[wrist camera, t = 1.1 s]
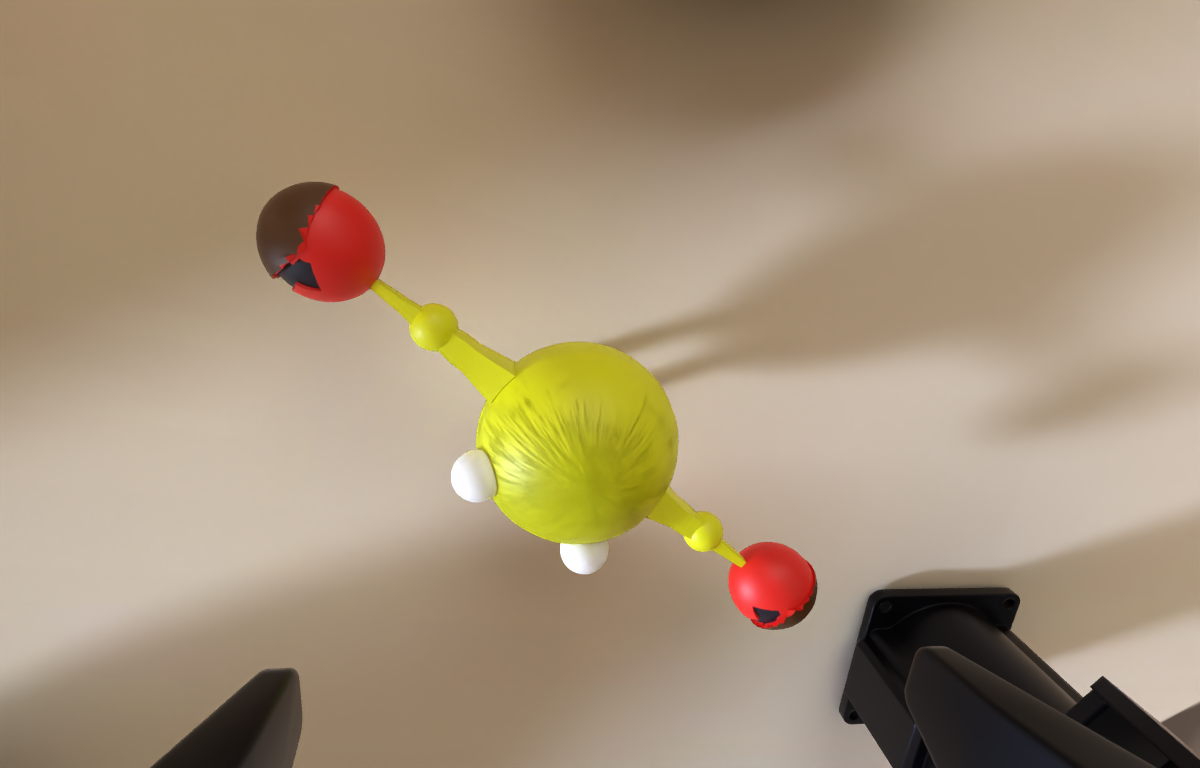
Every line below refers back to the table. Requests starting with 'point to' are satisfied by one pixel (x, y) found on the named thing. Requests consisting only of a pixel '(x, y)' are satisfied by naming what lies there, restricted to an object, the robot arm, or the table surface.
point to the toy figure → (538, 416)
